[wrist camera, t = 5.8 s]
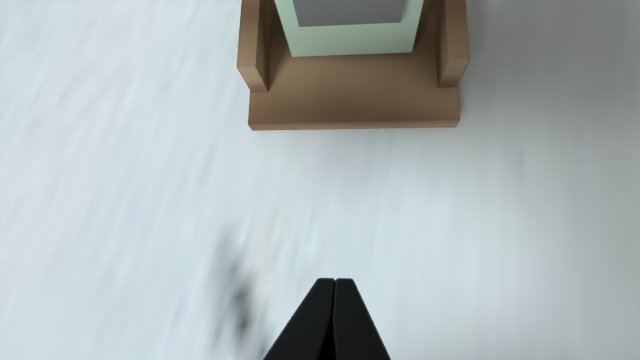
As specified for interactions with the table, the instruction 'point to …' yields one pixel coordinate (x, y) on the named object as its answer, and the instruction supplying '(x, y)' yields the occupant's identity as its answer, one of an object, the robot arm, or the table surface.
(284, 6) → the pale green block
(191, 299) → the table surface
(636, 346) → the table surface
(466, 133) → the table surface
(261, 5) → the brown open tray
